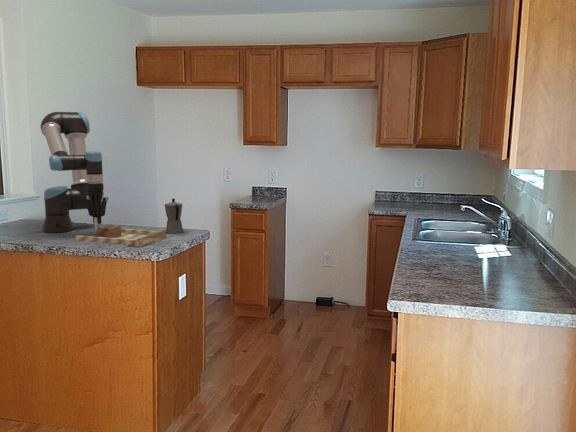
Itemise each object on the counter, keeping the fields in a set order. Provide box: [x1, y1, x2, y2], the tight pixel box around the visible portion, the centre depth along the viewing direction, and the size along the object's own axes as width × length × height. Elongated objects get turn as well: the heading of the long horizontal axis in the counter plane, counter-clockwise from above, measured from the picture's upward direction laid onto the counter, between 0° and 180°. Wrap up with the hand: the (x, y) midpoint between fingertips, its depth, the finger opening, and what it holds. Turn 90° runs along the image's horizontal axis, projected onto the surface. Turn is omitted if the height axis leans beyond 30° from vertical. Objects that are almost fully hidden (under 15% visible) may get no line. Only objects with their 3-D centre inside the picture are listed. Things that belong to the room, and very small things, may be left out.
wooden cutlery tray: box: [74, 228, 167, 248], centre depth 262 cm, size 36×23×4 cm, turn 73°
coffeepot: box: [164, 198, 184, 235], centre depth 279 cm, size 15×9×18 cm, turn 25°
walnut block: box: [96, 224, 122, 238], centre depth 264 cm, size 8×8×5 cm
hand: (97, 230), depth 265 cm, fingers closed
